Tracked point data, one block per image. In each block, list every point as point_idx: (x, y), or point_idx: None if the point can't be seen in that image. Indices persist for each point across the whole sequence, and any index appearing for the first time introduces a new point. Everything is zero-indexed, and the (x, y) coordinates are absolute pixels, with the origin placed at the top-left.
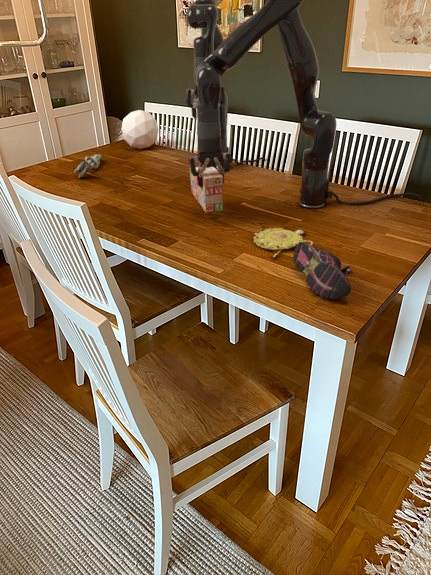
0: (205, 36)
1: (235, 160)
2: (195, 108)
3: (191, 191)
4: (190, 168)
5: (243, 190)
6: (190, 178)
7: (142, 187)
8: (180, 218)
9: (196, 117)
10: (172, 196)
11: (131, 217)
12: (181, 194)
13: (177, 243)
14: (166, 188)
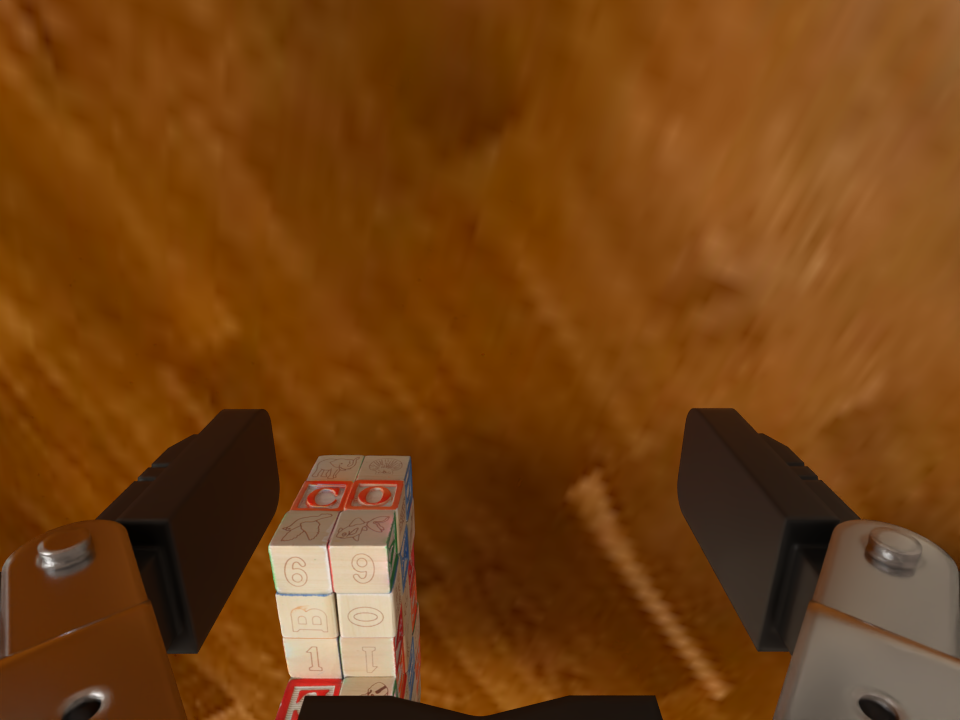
0: None
1: None
2: (176, 643)
3: (318, 458)
4: (274, 552)
5: (671, 319)
6: (293, 504)
7: (35, 8)
8: (260, 544)
9: (268, 516)
10: (243, 265)
11: (27, 466)
12: (300, 252)
13: (229, 716)
14: (212, 101)
